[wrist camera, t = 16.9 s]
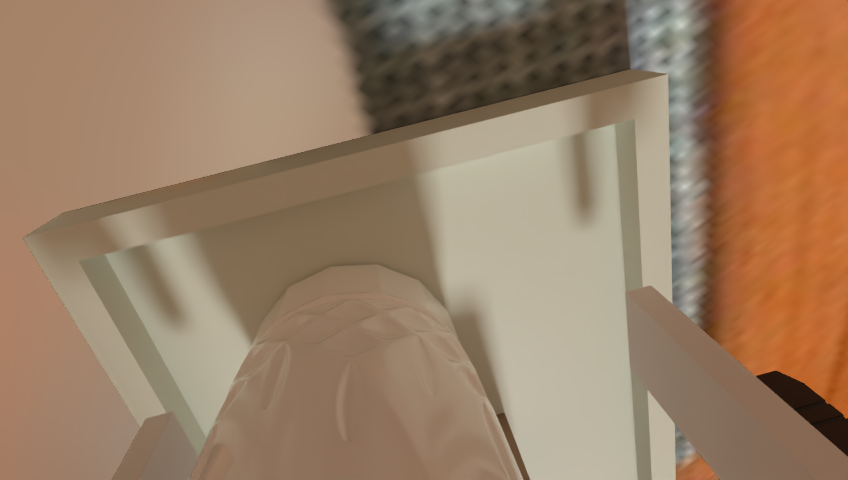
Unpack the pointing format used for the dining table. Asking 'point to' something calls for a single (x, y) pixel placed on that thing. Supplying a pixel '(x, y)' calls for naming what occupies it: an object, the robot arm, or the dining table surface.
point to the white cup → (356, 390)
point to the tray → (410, 264)
